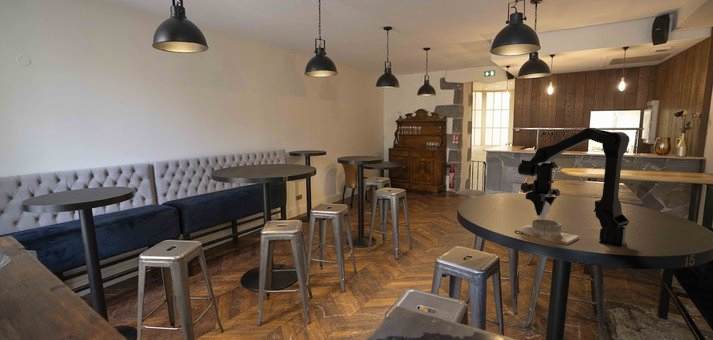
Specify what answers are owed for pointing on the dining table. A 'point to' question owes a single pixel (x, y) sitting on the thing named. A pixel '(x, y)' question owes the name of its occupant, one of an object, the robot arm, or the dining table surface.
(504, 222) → the dining table surface
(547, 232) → the lamp base
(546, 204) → the lightbulb
